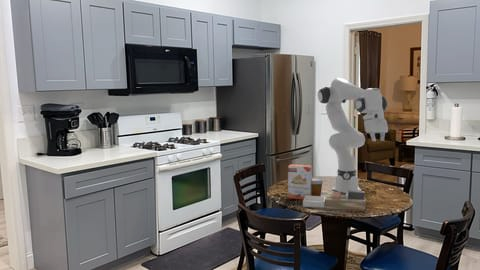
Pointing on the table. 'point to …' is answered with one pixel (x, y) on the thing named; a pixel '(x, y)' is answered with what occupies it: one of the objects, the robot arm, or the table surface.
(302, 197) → the cracker box
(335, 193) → the tile
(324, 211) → the table surface
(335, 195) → the tile
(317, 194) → the disposable coffee cup
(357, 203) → the bench plate
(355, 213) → the table surface
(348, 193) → the grey block
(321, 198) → the box
